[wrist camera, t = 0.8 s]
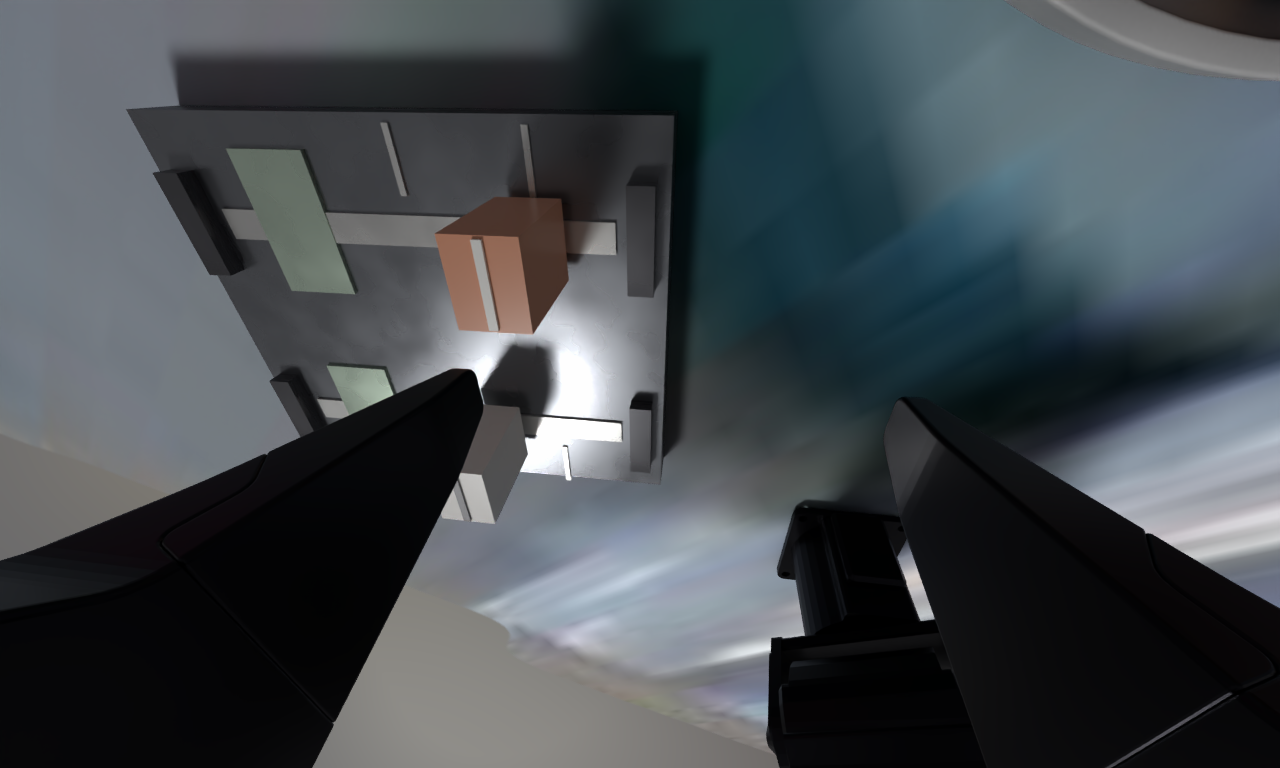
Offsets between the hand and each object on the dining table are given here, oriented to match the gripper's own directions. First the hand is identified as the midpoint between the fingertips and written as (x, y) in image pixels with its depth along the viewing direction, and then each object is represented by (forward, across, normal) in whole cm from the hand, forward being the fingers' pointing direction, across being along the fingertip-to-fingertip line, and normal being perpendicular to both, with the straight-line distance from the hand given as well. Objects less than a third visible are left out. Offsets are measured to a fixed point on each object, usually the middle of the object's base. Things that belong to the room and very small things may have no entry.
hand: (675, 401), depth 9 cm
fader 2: (+9, +9, +9) cm, 16 cm away
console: (+12, +11, +4) cm, 17 cm away
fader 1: (+9, +6, 0) cm, 11 cm away
